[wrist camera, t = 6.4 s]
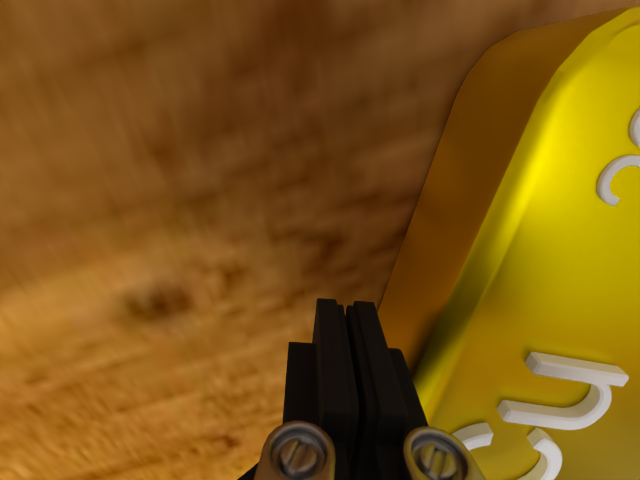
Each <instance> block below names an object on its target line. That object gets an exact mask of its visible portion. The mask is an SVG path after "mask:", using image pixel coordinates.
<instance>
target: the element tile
mask: <svg viewBox="0 0 640 480" xmlns="http://www.w3.org/2000/svg"><path fill="white" fill-rule="evenodd" d="M377 314H378V317H379V320H380V324H381V327H382V330H383V333H384V336H385V340H386V343H387V346H388V348H398V349H400V350H401V351H402V353H403V355H404V358H405V361H406V364H407V366H408V369H409V372H410V375H411V378H412V380H413V383H414V386H415V389H416V391H417V394H418V397H419V400H420V403H421V405H422V408H423V411H424V414H425V416H426V419H427V422H428V425H429V427H436V428H439V429H442V430H445V431H446V432H448V433H450V434H452V435H454V436H455V437H456V438H457V439H458V440H460V441H461V442H462V443H463V444H464V445H465V447H466V448H467V449H468V451H469V452H470V453H471V455H472V456H473V458H474V460H475V461H476V463H477V465H478V466H479V468H480V470H481V471H482V473H483V475H484V476H485V478H486V480H640V5H636V6H630V7H625V8H620V9H616V10H611V11H607V12H602V13H598V14H593V15H589V16H584V17H580V18H575V19H571V20H566V21H562V22H557V23H553V24H548V25H544V26H540V27H535V28H531V29H526V30H522V31H517V32H514V33H512V34H510V35H509V36H507V37H506V38H504V39H502V40H501V41H499V42H498V43H496V44H494V45H493V46H491V47H490V48H488V49H487V51H486V52H485V53H484V54H483V55H482V57H481V58H480V59H479V60H478V62H477V63H476V64H475V65H474V66H473V68H472V69H471V70H470V71H469V73H468V74H467V76H466V78H465V80H464V82H463V84H462V86H461V88H460V89H459V91H458V93H457V95H456V98H455V101H454V104H453V106H452V109H451V112H450V115H449V117H448V120H447V123H446V126H445V128H444V131H443V134H442V137H441V139H440V142H439V145H438V148H437V150H436V153H435V156H434V159H433V161H432V164H431V167H430V170H429V172H428V175H427V178H426V181H425V183H424V186H423V189H422V192H421V194H420V197H419V200H418V203H417V205H416V208H415V211H414V213H413V216H412V219H411V222H410V224H409V227H408V230H407V233H406V235H405V238H404V241H403V244H402V246H401V249H400V252H399V255H398V257H397V260H396V263H395V266H394V268H393V271H392V274H391V277H390V279H389V282H388V285H387V288H386V290H385V293H384V296H383V299H382V301H381V304H380V307H379V310H378V312H377Z"/></svg>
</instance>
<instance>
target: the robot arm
mask: <svg viewBox="0 0 640 480" xmlns="http://www.w3.org/2000/svg"><path fill="white" fill-rule="evenodd" d="M238 480H486V478H485V476H484V475H483V473H482V471H481V470H480V468H479V466H478V465H477V463H476V461H475V460H474V458H473V456H472V455H471V453H470V452H469V451H468V449H467V448H466V447H465V445H464V444H463V443H462V442H461V441H460V440H458V439H457V438H456V437H455V436H454V435H452V434H450V433H448V432H446V431H445V430H442V429H439V428H436V427H429V425H428V422H427V419H426V416H425V414H424V411H423V408H422V405H421V403H420V400H419V397H418V394H417V391H416V389H415V386H414V383H413V380H412V378H411V375H410V372H409V369H408V366H407V364H406V361H405V358H404V355H403V353H402V351H401V350H400V349H398V348H388V346H387V343H386V340H385V336H384V333H383V330H382V327H381V324H380V320H379V317H378V314H377V311H376V307H375V304H374V302H364V301H355V302H354V304H353V306H350V305H348V306H347V309H346V315H345V313H344V307H343V305H337V301H336V299H321V298H318V299H317V305H316V314H315V323H314V332H313V341H312V343H299V342H289V348H288V360H287V372H286V385H285V398H284V411H283V424H282V425H280V426H278V427H276V428H275V429H274V430H273V431H272V432H271V433H270V434H269V435H268V437H267V439H266V442H265V444H264V446H263V450H262V453H261V456H260V460H259V462H258V463H257V464H256V465H255V466H254V467H252V468H251V469H250V470H249V471H247V472H246V473H245V474H244V475H243V476H241V477H240V478H239V479H238Z"/></svg>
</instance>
